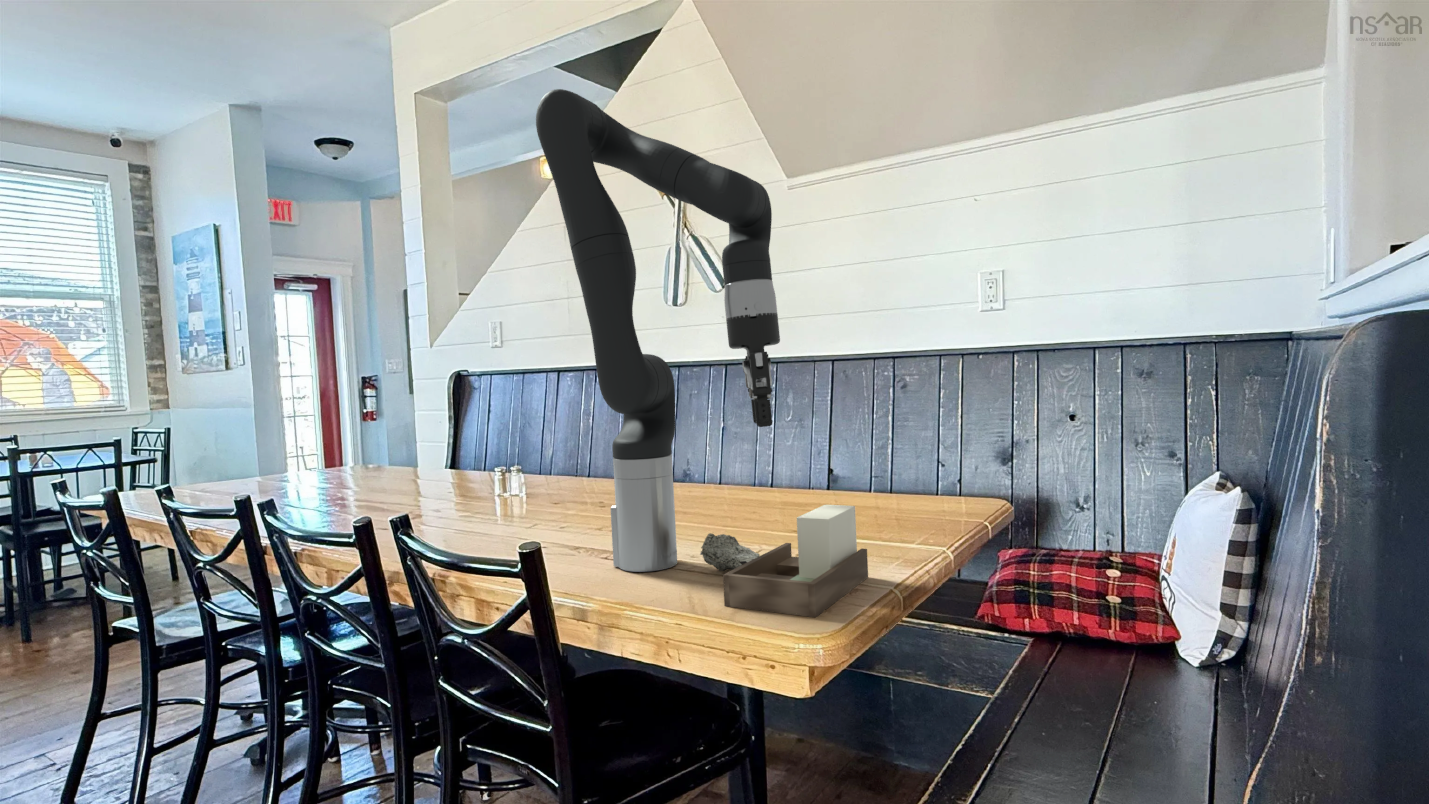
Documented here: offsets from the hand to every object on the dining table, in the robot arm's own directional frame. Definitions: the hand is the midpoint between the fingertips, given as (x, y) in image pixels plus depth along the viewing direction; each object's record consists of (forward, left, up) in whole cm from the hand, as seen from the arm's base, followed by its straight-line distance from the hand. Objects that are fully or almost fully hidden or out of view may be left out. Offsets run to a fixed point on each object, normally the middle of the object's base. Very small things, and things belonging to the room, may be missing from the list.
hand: (762, 424), depth 113 cm
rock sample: (-5, +1, -22) cm, 23 cm away
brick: (+11, -3, -20) cm, 23 cm away
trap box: (+8, -7, -22) cm, 24 cm away
